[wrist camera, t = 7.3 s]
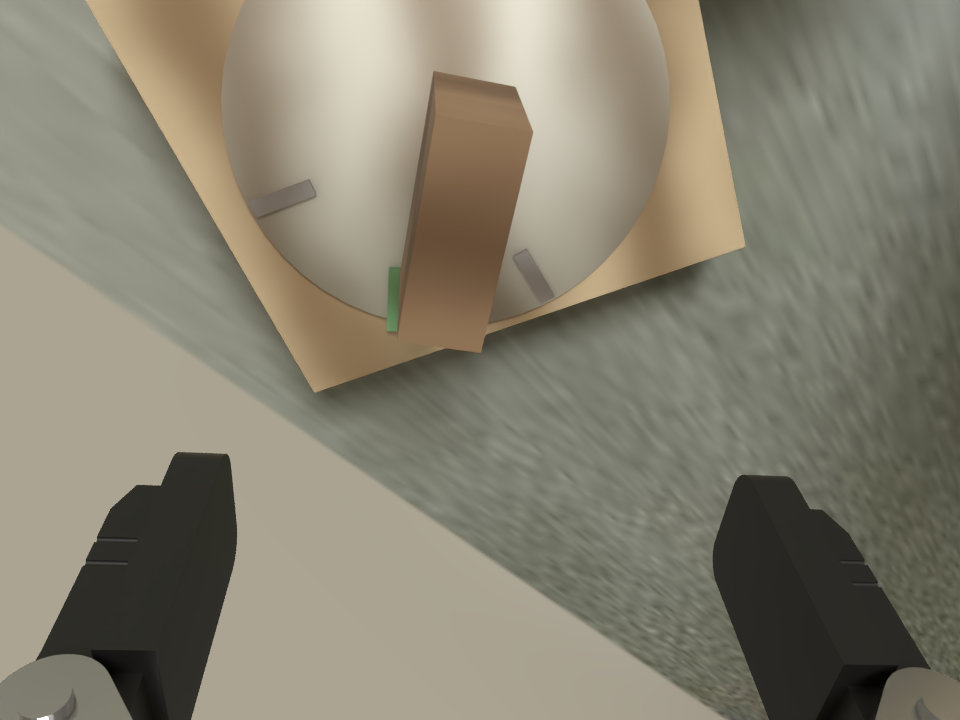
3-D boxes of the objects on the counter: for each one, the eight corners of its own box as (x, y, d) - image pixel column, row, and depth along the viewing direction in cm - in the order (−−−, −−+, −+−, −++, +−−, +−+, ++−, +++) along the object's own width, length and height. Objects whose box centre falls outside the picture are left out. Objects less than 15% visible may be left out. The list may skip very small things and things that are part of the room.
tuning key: (431, 35, 27) (435, 114, 19) (501, 50, 27) (533, 132, 20) (387, 313, 33) (376, 462, 25) (445, 321, 33) (453, 471, 25)
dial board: (621, -241, 27) (653, -255, 23) (714, 208, 36) (748, 250, 32) (119, -26, 29) (75, -7, 26) (323, 344, 38) (313, 398, 34)
